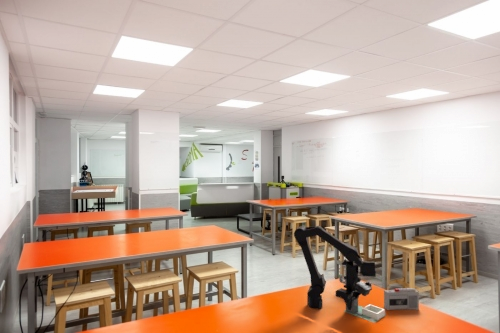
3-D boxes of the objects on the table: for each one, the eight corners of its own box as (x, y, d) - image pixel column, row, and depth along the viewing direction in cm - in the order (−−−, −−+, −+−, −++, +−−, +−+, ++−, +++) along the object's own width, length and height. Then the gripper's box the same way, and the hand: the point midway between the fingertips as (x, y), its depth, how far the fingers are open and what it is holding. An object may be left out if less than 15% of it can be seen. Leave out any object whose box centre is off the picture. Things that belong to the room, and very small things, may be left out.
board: (343, 312, 149) (343, 310, 149) (355, 306, 156) (355, 303, 156) (374, 324, 138) (374, 322, 138) (386, 316, 145) (386, 314, 145)
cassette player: (386, 311, 151) (386, 290, 151) (384, 309, 153) (384, 288, 153) (418, 310, 152) (418, 289, 152) (415, 308, 154) (415, 287, 154)
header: (361, 314, 146) (361, 308, 146) (369, 309, 151) (369, 304, 151) (377, 319, 140) (377, 314, 140) (385, 315, 145) (385, 309, 145)
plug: (344, 310, 150) (344, 297, 150) (349, 307, 152) (349, 295, 152) (353, 313, 146) (353, 300, 146) (358, 311, 149) (358, 298, 149)
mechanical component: (340, 292, 174) (340, 273, 174) (358, 297, 166) (358, 278, 166) (337, 293, 172) (337, 274, 172) (355, 299, 164) (355, 279, 164)
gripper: (357, 284, 137) (357, 320, 137) (378, 274, 149) (378, 308, 149) (334, 277, 145) (334, 312, 145) (356, 268, 158) (356, 300, 158)
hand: (351, 308), depth 149 cm, fingers closed on plug, 4 cm apart
